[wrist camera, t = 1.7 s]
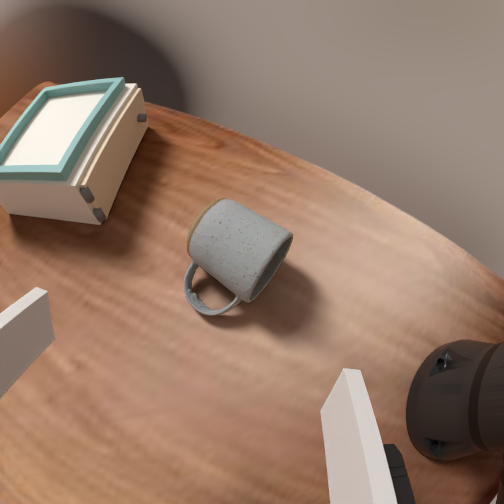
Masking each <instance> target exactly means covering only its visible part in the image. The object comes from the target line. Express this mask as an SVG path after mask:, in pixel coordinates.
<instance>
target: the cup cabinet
mask: <svg viewBox="0 0 504 504" xmlns="http://www.w3.org/2000/svg"><path fill="white" fill-rule="evenodd" d="M148 126H149V122H148V118H147V114H146V109H145V104H144V100H143V95H142V90H141V88H138V87H137V84H125V81H124V78H123V77H122V78H110V79H100V80H91V81H83V82H76V83H70V84H63V85H57V86H52V87H47V88H44V89H43V90H42V91H41V92H40V94H39V95H38V96H37V97H36V98H35V99H34V101H33V102H32V103H31V104H30V105H29V107H28V108H27V109H26V110H25V112H24V113H23V114H22V115H21V117H20V118H19V119H18V121H17V122H16V123H15V125H14V126H13V127H12V129H11V130H10V132H9V133H8V134H7V136H6V137H5V139H4V140H3V142H2V143H1V145H0V205H1V206H2V207H3V208H4V209H5V210H6V211H7V212H8V213H9V214H16V215H24V216H32V217H40V218H48V219H56V220H64V221H72V222H80V223H88V224H96V225H101V223H102V222H104V221H105V220H107V217H108V214H109V212H110V209H111V207H112V204H113V202H114V199H115V197H116V194H117V192H118V189H119V187H120V185H121V182H122V180H123V178H124V175H125V173H126V171H127V169H128V167H129V164H130V162H131V160H132V158H133V156H134V154H135V152H136V150H137V148H138V145H139V143H140V141H141V139H142V137H143V135H144V133H145V132H146V130H147V128H148Z"/></svg>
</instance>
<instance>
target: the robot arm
mask: <svg viewBox="0 0 504 504" xmlns="http://www.w3.org/2000/svg"><path fill="white" fill-rule="evenodd" d="M54 340H55V334H54V329H53V323H52V318H51V312H50V305H49V298H48V291H45V290H43V289H40V288H38V287H36V288H34V289H33V290H31V291H30V292H29V293H27V294H26V295H25V296H23V297H22V298H20V299H19V300H18V301H16V302H15V303H14V304H12V305H11V306H10V307H8V308H7V309H6V310H4V311H3V312H2V313H0V399H1V397H2V396H3V395H4V394H5V393H6V392H7V391H8V389H9V388H10V387H11V386H12V385H13V384H14V383H15V382H16V380H17V379H18V378H19V377H20V376H21V375H22V374H23V373H24V372H25V371H26V369H27V368H28V367H29V366H30V365H31V364H32V363H33V362H34V361H35V360H36V359H37V358H38V357H39V356H40V355H41V353H42V352H43V351H44V350H45V349H46V348H47V347H48V346H49V345H50V344H51V343H52V342H53V341H54ZM320 412H321V420H322V428H323V437H324V445H325V454H326V463H327V473H328V483H329V494H330V504H415V500H414V496H413V492H412V488H411V485H410V481H409V477H407V475H408V474H407V470H406V468H405V464H404V460H403V457H402V454H401V453H400V451H399V450H398V449H397V447H396V446H395V445H394V444H382V440H381V437H380V433H379V430H378V426H377V423H376V419H375V416H374V413H373V409H372V406H371V403H370V399H369V396H368V393H367V390H366V387H365V384H364V380H363V377H362V374H361V371H360V370H355V369H347V368H343V370H342V372H341V374H340V376H339V378H338V380H337V382H336V383H335V385H334V387H333V389H332V391H331V393H330V395H329V396H328V398H327V400H326V402H325V404H324V405H323V407H322V409H321V411H320ZM406 423H407V429H408V434H409V437H410V439H411V441H412V443H413V445H414V446H415V448H416V449H417V450H418V451H419V452H420V453H421V454H423V455H424V456H426V457H429V458H433V459H438V460H444V461H448V460H455V459H459V458H463V457H466V456H470V455H473V454H476V453H479V452H483V451H493V452H502V453H503V463H502V471H501V477H500V484H499V490H498V495H497V500H496V504H504V342H502V343H499V344H492V343H485V342H479V341H473V340H458V341H455V342H451V343H448V344H445V345H442V346H440V347H439V348H437V349H436V350H434V351H433V352H432V353H431V354H430V355H429V356H428V357H427V358H426V359H425V360H424V362H423V363H422V364H421V366H420V368H419V369H418V371H417V373H416V375H415V377H414V379H413V382H412V385H411V388H410V391H409V395H408V400H407V407H406Z"/></svg>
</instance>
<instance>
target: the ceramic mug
mask: <svg viewBox="0 0 504 504" xmlns="http://www.w3.org/2000/svg"><path fill="white" fill-rule="evenodd" d="M292 240H293V234H292V233H291V232H290V231H288V230H287V229H285V228H283V227H281V226H279V225H277V224H276V223H274V222H272V221H270V220H269V219H267V218H265V217H263V216H262V215H260V214H258V213H256V212H254V211H252V210H251V209H249V208H247V207H245V206H244V205H242V204H240V203H238V202H235V201H232V200H229V199H219V200H216V201H214V202H212V203H210V204H209V205H208V206H207V207H206V208H204V210H203V211H202V212H201V213H200V214H199V216H198V217H197V219H196V220H195V222H194V223H193V225H192V227H191V229H190V231H189V234H188V238H187V252H188V254H189V256H190V257H191V258H192V260H193V262H192V263H191V264H190V266H189V268H188V269H187V271H186V274H185V277H184V281H183V288H184V293H185V297H186V298H187V300H188V302H189V303H190V304H191V306H192V307H193V308H195V309H196V310H197V311H198V312H200V313H202V314H204V315H209V316H214V315H220V314H223V313H226V312H228V311H230V310H231V309H233V308H234V307H235V306H236V305H237V304H239V303H240V301H241V300H243V301H245V302H246V303H250V302H251V301H253V300H254V299H255V298H256V297H257V296H258V295H259V294H260V293H261V291H262V290H263V289H264V288H265V287H266V285H267V284H268V283H269V281H270V280H271V279H272V277H273V276H274V274H275V273H276V271H277V270H278V268H279V266H280V265H281V263H282V262H283V260H284V258H285V257H286V254H287V252H288V250H289V248H290V246H291V243H292ZM198 266H200V267H201V268H202V269H204V270H205V271H206V272H207V273H209V274H210V275H211V276H213V277H214V278H215V279H217V280H218V281H219V282H220V283H221V284H223V285H224V286H225V287H226V288H227V289H229V290H230V291H231V292H233V293H234V294H235V295H236V298H235V299H234V301H233V302H232V303H230V304H229V305H227V306H226V307H224V308H223V309H220V310H215V311H213V310H210V309H209V308H208V307H207V306H206V305H205V304H203V303H202V302H201V301H200V300H199V298H198V297H197V294H195V293H193V291H192V279H193V276H194V274H195V271H196V269H197V268H198Z"/></svg>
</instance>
